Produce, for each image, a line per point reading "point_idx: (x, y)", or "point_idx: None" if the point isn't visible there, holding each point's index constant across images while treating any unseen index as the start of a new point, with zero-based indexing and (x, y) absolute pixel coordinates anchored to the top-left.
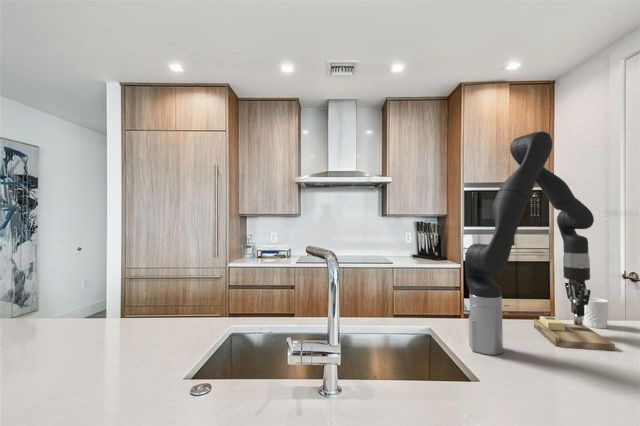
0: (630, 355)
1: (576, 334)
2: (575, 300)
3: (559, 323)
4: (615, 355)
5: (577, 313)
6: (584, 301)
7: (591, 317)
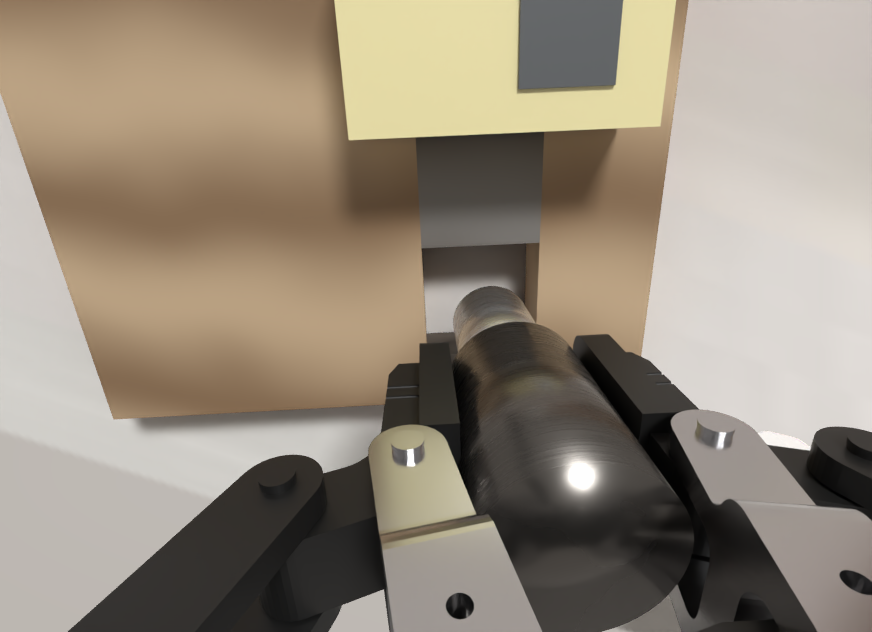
0: (87, 442)
1: (281, 219)
2: (495, 484)
3: (342, 72)
4: (29, 355)
5: (420, 356)
6: (272, 599)
7: None
